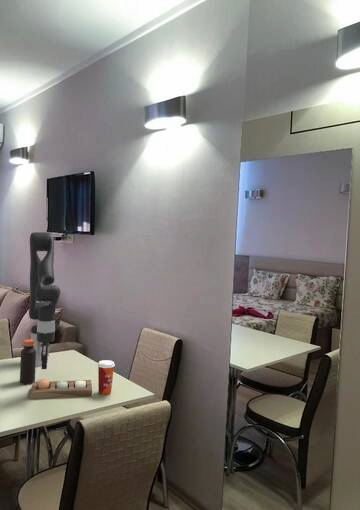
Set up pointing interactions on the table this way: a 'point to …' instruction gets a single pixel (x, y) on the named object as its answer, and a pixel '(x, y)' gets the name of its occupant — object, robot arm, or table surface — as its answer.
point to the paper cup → (105, 376)
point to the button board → (61, 390)
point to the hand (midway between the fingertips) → (44, 368)
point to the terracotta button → (43, 384)
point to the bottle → (28, 362)
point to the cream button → (80, 384)
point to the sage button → (62, 384)
